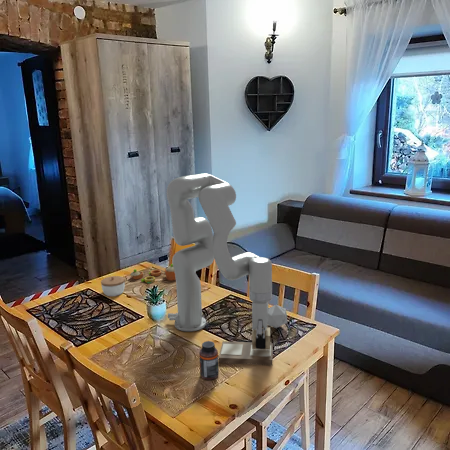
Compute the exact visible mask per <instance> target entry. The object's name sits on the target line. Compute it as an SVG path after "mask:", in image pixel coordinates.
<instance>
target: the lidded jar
mask: <svg viewBox="0 0 450 450" xmlns="http://www.w3.org/2000/svg"><path fill="white" fill-rule="evenodd" d="M125 280H126V279H125V277H123V276H119V275H115V276H114V275H112V276H108V277H107V276H106V277H105V278H102V279H101V281H100V284H101V289H102V292H103V294H104V295H105V296H107V297H117V296H120V295H122V294H123V292H124V290H125V287H126V286H125V285H126V284H125Z"/></svg>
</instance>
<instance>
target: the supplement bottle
mask: <svg viewBox="0 0 450 450" xmlns="http://www.w3.org/2000/svg"><path fill="white" fill-rule="evenodd" d="M215 346H216V345H215V342H214V341H211V340H207V341H204V342H202V344H201V348H200V349H199V352H198V353H199V373H200V377H201V379H203V380H206V381H211V380H215V379H216V378H217V377H219V374H220V373H219V370H220V369H219V351H218V349H217V347H215Z"/></svg>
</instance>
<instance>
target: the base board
mask: <svg viewBox="0 0 450 450" xmlns="http://www.w3.org/2000/svg"><path fill="white" fill-rule="evenodd" d="M273 347H274V344H273V343H271V342H270V349H252V341H250V342H249V341H248V342H246V341H226V340H225V341H223V340H222V343H221V346H220V351H219V353H218V364H233V365H253V366H254V365H255V366H256V365H258V366H273V359H274V358H273V357H274V356H273V355H274V353H273V352H274V350H273V349H274V348H273Z"/></svg>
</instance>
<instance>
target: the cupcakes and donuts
mask: <svg viewBox="0 0 450 450" xmlns="http://www.w3.org/2000/svg"><path fill="white" fill-rule="evenodd" d="M163 274H164V275H165V278H166V280H168V281H176V277H175V272H174V268H173V263H171V264H170V265H169V266H168V267H166V269H165V270H164V272H163V273H162V270H161V269H153V270H151V271H149V272H148V275H150V276H145V277H144V272H143V271H137V269H133V271H131V273H130V274H129V275H130V276H131V278H132V279H133V280H139V279H140V281H141V282H142V283H143V282H144V283H147V284H152V283H154V282H155V281H156V277H160V276H163Z"/></svg>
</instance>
